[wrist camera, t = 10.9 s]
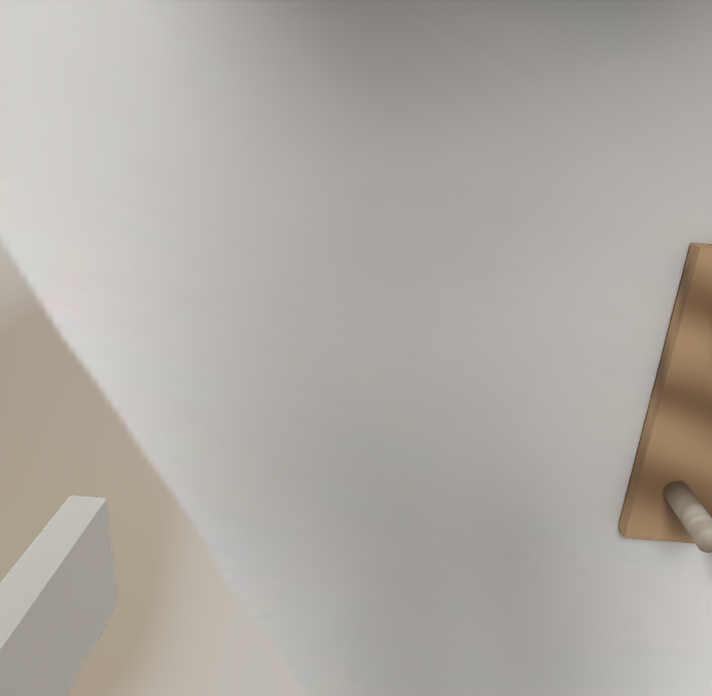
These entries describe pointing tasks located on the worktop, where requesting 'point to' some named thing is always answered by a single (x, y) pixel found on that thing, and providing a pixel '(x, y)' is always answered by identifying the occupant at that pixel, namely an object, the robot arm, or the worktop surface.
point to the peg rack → (679, 424)
